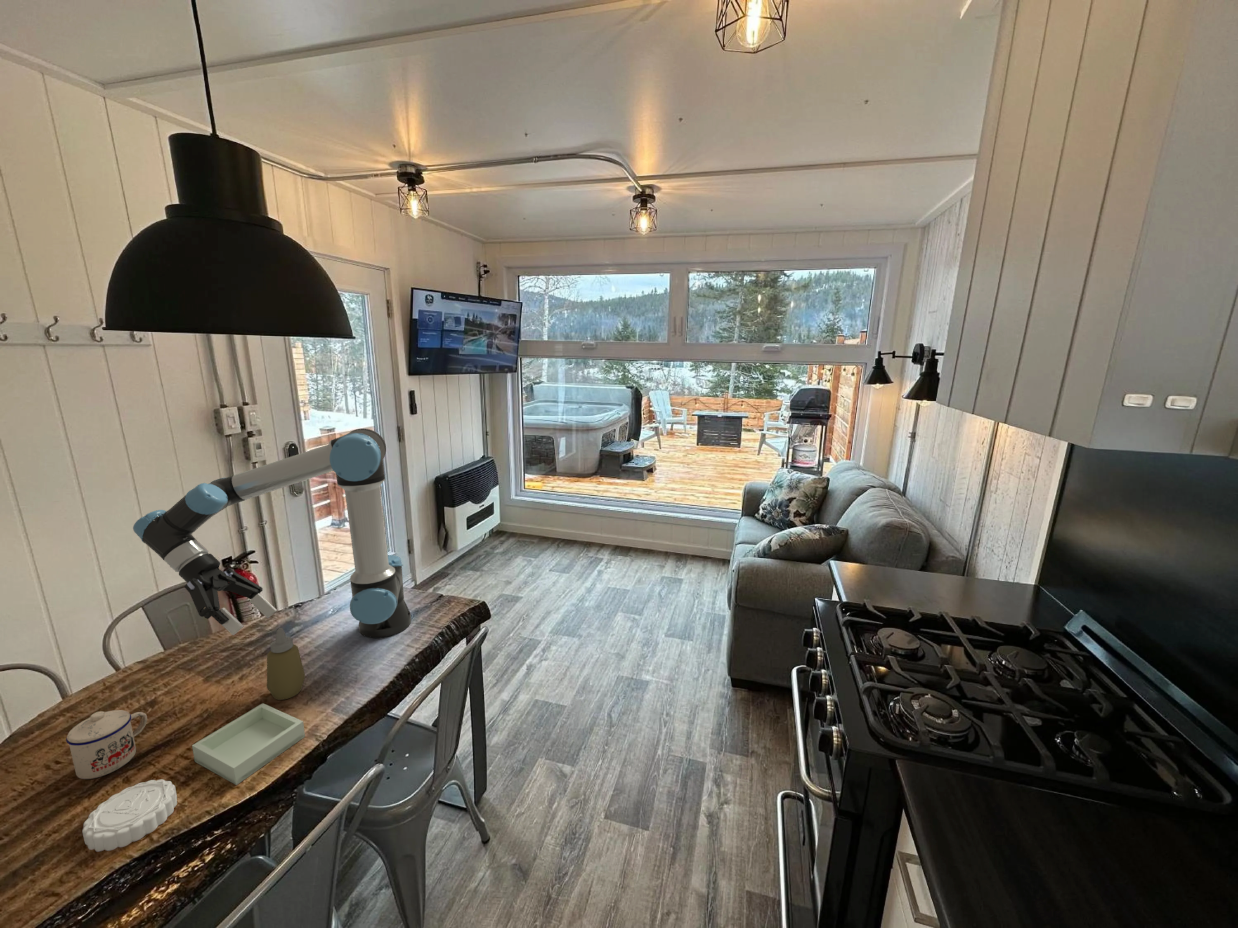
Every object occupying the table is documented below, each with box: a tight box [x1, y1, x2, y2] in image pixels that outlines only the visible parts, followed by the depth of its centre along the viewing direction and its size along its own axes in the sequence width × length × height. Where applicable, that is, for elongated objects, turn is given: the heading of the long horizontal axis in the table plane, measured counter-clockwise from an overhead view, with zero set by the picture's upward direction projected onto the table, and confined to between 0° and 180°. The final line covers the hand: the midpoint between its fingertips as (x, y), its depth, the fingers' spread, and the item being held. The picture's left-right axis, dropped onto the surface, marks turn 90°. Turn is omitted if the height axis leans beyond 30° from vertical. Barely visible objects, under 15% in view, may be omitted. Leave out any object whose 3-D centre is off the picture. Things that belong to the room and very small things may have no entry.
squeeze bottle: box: [266, 627, 306, 701], centre depth 120 cm, size 8×8×18 cm
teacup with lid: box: [66, 709, 148, 780], centre depth 100 cm, size 12×9×12 cm
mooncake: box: [82, 778, 178, 852], centre depth 88 cm, size 12×12×4 cm
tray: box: [191, 703, 306, 786], centre depth 104 cm, size 14×14×4 cm
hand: (256, 622), depth 121 cm, fingers open, 13 cm apart
